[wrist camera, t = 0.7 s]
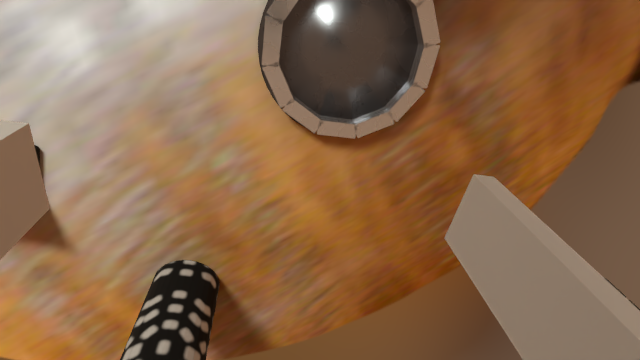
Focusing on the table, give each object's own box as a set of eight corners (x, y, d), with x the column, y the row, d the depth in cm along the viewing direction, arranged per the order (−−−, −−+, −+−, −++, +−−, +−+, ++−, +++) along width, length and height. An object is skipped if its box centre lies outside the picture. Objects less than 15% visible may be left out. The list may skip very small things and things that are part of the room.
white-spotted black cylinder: (215, 308, 49) (181, 486, 31) (152, 302, 47) (80, 488, 29) (223, 264, 45) (191, 439, 28) (155, 256, 43) (75, 438, 26)
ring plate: (266, -75, 28) (266, -80, 26) (457, -34, 31) (471, -36, 29) (252, 123, 36) (251, 131, 34) (404, 140, 39) (412, 149, 37)
